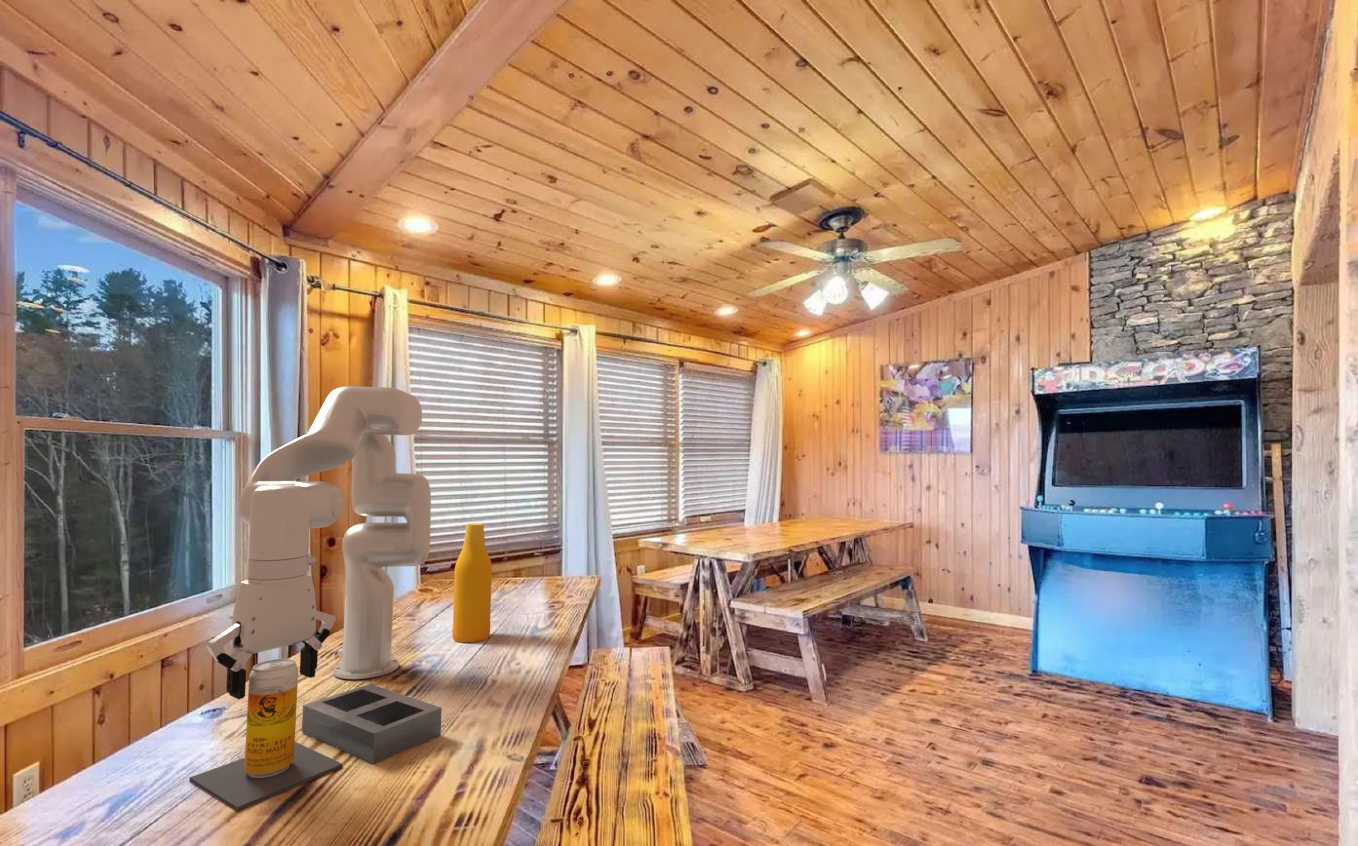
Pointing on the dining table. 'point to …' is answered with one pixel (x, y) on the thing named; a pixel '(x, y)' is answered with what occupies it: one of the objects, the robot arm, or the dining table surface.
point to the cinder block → (371, 722)
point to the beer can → (271, 717)
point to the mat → (245, 790)
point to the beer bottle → (472, 588)
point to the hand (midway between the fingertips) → (273, 685)
